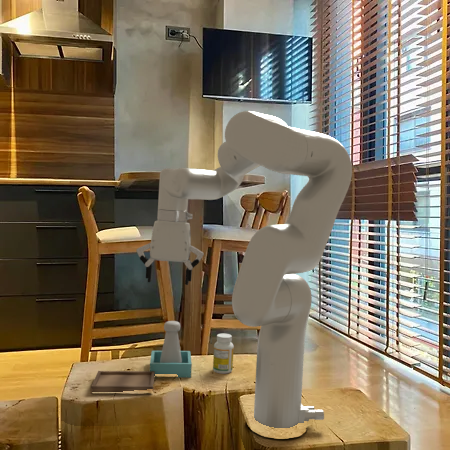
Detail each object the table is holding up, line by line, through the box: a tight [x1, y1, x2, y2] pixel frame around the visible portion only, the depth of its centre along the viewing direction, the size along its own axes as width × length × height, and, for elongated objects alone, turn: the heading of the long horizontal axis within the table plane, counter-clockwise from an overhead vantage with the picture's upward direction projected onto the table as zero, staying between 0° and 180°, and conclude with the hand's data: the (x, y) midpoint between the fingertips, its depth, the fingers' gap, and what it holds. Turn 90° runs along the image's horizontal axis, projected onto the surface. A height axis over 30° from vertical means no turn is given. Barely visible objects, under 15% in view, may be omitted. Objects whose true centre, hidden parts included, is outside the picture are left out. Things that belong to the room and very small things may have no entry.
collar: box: [149, 350, 193, 378], centre depth 129 cm, size 11×11×4 cm
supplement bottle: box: [212, 333, 235, 375], centre depth 131 cm, size 5×5×10 cm
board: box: [90, 370, 155, 393], centre depth 117 cm, size 14×10×2 cm
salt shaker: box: [160, 320, 182, 363], centre depth 129 cm, size 6×6×13 cm
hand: (168, 282), depth 126 cm, fingers open, 9 cm apart
